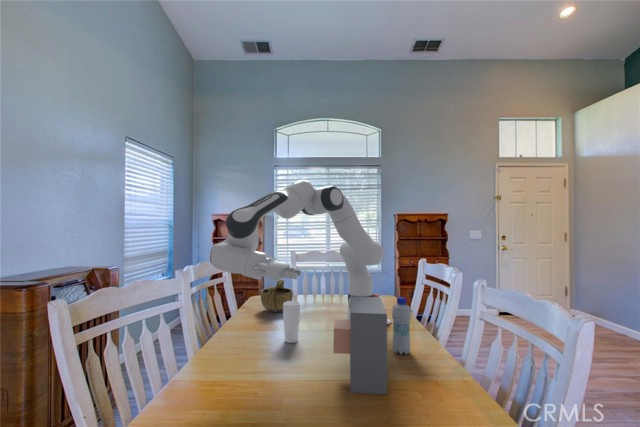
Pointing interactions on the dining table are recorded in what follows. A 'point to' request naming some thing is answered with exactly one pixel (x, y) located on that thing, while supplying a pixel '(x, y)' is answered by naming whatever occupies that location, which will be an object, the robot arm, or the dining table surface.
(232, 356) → the dining table surface
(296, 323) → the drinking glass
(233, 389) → the dining table surface
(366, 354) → the gray rectangular box
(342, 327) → the pink rectangular block
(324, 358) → the dining table surface
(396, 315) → the bottle
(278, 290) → the olive brown basket
